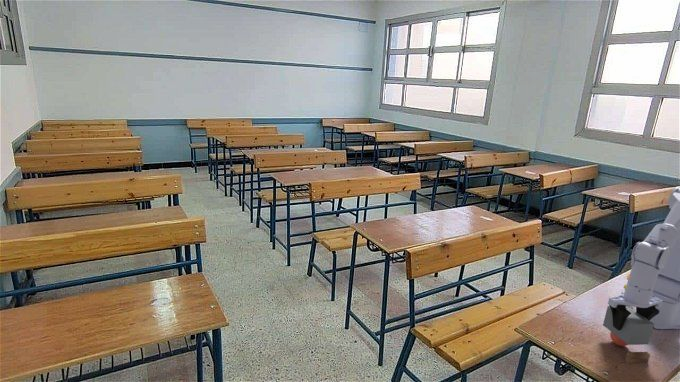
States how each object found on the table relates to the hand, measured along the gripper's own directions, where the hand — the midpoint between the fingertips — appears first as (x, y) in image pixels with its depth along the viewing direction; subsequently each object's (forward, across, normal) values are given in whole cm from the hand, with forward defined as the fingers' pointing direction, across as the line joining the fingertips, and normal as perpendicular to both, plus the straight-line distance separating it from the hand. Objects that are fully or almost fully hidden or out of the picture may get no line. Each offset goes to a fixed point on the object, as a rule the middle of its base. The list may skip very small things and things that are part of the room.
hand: (627, 328), depth 107 cm
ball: (+3, 0, -1) cm, 4 cm away
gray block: (+2, 0, 0) cm, 2 cm away
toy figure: (+6, -24, -25) cm, 35 cm away
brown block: (+6, +1, +6) cm, 9 cm away
